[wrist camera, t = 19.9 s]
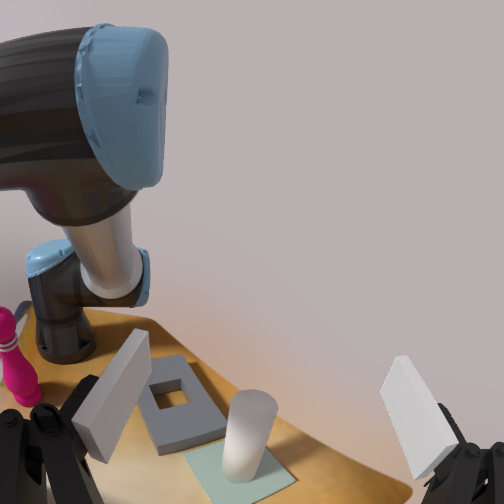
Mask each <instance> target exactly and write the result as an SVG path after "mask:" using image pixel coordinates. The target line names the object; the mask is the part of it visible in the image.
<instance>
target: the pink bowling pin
mask: <svg viewBox="0 0 504 504" xmlns="http://www.w3.org/2000/svg"><path fill="white" fill-rule="evenodd" d="M15 330H16V321H15V318H14V316H13V314H12V313H11V311H10V310H9V309H7V308H5V307H1V306H0V355H1V358H2V363H3V378H4V382H5V384H6V386H7V388H8V389H9V390H10V391H11V392H12V393H13V395H14V397H15V399H16V401H17V402H18V403H19V404H20V405H22V406H25V407H31V406H34V405H36V404H37V403H38V402H39V401H40V400H41V397H42V391H41V389H40V387H39V384H38V377H37V374H36V372H35V370H34V368H33V367H32V365H31V364H30V363H29V362H28V361H27V360H26V358H25V357H24V356H23V355H22V353H21V352H20V349H19V347H18V342H19V340H18V337H17V333H16V332H15Z"/></svg>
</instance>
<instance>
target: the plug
mask: <svg viewBox="0 0 504 504" xmlns="http://www.w3.org/2000/svg"><path fill="white" fill-rule="evenodd" d="M277 411H278V405H277V403H276V401H275V399H274V398H273V397H272V396H270V395H269V394H267V393H265V392H263V391H259V390H243V391H240V392H238V393H236V394H235V395H234V396H233V397H232V399H231V402H230V409H229V416H228V423H227V430H226V437H225V444H224V451H223V458H222V464H221V473H222V475H223V477H224V478H225V479H226V480H228V481H229V482H232V483H235V484H244V483H247V482H249V481H251V480H252V479H253V478H254V476H255V474H256V471H257V469H258V466H259V463H260V461H261V458H262V455H263V452H264V449H265V447H266V444H267V441H268V438H269V435H270V432H271V429H272V426H273V423H274V420H275V417H276V414H277Z"/></svg>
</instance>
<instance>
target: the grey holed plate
mask: <svg viewBox="0 0 504 504" xmlns="http://www.w3.org/2000/svg"><path fill="white" fill-rule="evenodd" d="M151 365H152V372H151V374H150V376H149V378H148V380H147V382H146V384H145V386H144V388H143V390H142V392H141V394H140V396H139V398H138V400H137V405H138V408H139V410H140V413H141V416H142V418H143V420H144V423H145V425H146V428H147V430H148V432H149V435H150V437H151V439H152V442H153V444H154V446H155V448H156V450H157V452H158V455H159V456H161V455H165V454H169V453H173V452H177V451H180V450H184V449H188V448H191V447H194V446H198V445H201V444H204V443H207V442H211V441H214V440H217V439H220V438H222V437H225V436H226V430H227V423H228V421H227V420H226V418H225V417H224V416H223V414H222V413H221V412H220V410H219V409H218V407H217V406H216V405H215V403H214V402H213V400H212V399H211V397H210V396H209V394H208V393H207V392H206V390H205V389H204V387H203V386H202V384H201V383H200V381H199V380H198V378H197V376H196V375H195V373H194V372H193V370H192V369H191V367H190V366H189V364H188V362H187V361H186V359H185V358H184V356H183V354H177V355H172V356H167V357H161V358H156V359H151ZM177 390H182V391H183V393H184V395H185V397H186V398H187V400H188V402H189V403H186V404H182V405H178V406H174V407H170V408H166V409H161V410H159V408H158V406H157V403H156V401H155V399H154V397H153V395H158V394H163V393H168V392H172V391H177Z"/></svg>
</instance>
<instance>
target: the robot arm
mask: <svg viewBox="0 0 504 504" xmlns="http://www.w3.org/2000/svg"><path fill="white" fill-rule="evenodd" d="M167 85H168V46H167V43H166V40H165V39H164V37H163V36H162V35H161V34H160V33H158V32H157V31H155V30H152V29H149V28H139V27H138V28H137V27H119V26H114V25H111V24H97V25H95V26H93V27H83V28H73V29H65V30H58V31H51V32H45V33H40V34H35V35H30V36H26V37H21V38H18V39H13V40H10V41H5V42H3V43H0V191H7V190H23V191H25V192H26V194H27V196H28V198H29V200H30V201H31V203H32V205H33V207H34V208H35V209H36V211H37V212H38V213H39V214H40V216H42V218H44V219H45V220H47V221H49V222H50V223H52V224H54V225H57V226H60V227H62V229H63V231H64V233H65V234H66V236H67V238H68V239H58V240H53V241H49V242H46V243H43V244H41V245H38V246H37V247H35V248H33V249H32V250H31V251H30V252H29V253H28V255H27V257H26V267H27V277H28V283H29V288H30V293H31V298H32V302H33V307H34V311H35V315H36V345H37V348H38V351H39V353H40V355H41V356H42V357H43V358H44V359H46V360H47V361H50V362H52V363H57V364H70V363H74V362H78V361H80V360H82V359H84V358H86V357H87V356H89V355H90V354H91V353H92V351H93V350H94V348H95V346H96V337H95V332H94V329H93V328H92V326H91V324H90V322H89V320H88V318H87V317H86V315H85V313H84V310H83V307H130V308H134V307H139V306H143V305H145V304H146V303H147V301H148V297H149V288H150V260H149V255H148V252H147V251H146V250H145V249H140V248H136V247H135V246H134V244H133V243H132V232H131V215H130V214H131V213H130V203H131V202H132V200H133V199H134V198H135V196H136V195H137V194H138V192H139V190H141V189H143V188H145V187H153V186H155V185H156V184H157V183H158V182H159V181H160V179H161V176H162V172H163V159H164V143H165V119H166V102H167ZM151 372H152V365H151V356H150V345H149V332H148V331H145V330H140V329H136V328H135V329H134V330H133V332H132V333H131V334H130V336H129V337H128V338H127V340H126V341H125V343H124V344H123V345H122V347H121V348H120V349H119V351H118V352H117V354H116V355H115V356H114V358H113V359H112V361H111V362H110V364H109V365H108V366H107V368H106V369H105V371H104V372H103V374H102V375H101V376H100V377H97V376H94V375H91V374H90V375H88V376H87V377H85V378H83V379H82V380H81V381H80V382H79V384H78V385H77V386H76V389H74V390H73V392H72V394H71V395H70V396H69V397H68V399H67V400H66V401H65V403H64V404H63V406H62V407H61V408H60V410H58V409H57V408H56V407H55V406H54V405H51V404H46V403H43V404H39V405H37V406H36V407H34V408H33V409H32V411H31V413H30V419H31V420H28V419H24V418H23V416H22V415H21V413H20V412H19V411H17V410H15V409H7V410H4V411H3V412H2V413H1V414H0V504H47V488H46V472H47V475H48V479H49V482H50V486H51V489H52V492H53V496H54V499H55V502H56V504H104V502H103V500H102V498H101V496H100V494H99V491H98V489H97V487H96V484H95V482H94V480H93V477H92V475H91V472H90V470H89V467H88V464H87V462H86V459H85V458H84V457H85V456H86V454H87V452H88V453H89V454H90V456H91V458H93V459H96V460H98V461H100V462H103V463H106V464H108V462H109V459H110V457H111V455H112V453H113V451H114V449H115V446H116V444H117V442H118V440H119V438H120V436H121V434H122V432H123V429H124V427H125V425H126V423H127V421H128V419H129V417H130V415H131V413H132V411H133V409H134V407H135V405H136V403H137V400H138V398H139V396H140V394H141V392H142V390H143V388H144V386H145V384H146V382H147V380H148V378H149V376H150V374H151ZM379 393H380V395H381V398H382V400H383V402H384V405H385V407H386V409H387V412H388V414H389V417H390V419H391V422H392V424H393V426H394V429H395V431H396V434H397V436H398V439H399V441H400V444H401V446H402V449H403V452H404V454H405V457H406V460H407V462H408V465H409V468H410V470H411V473H412V475H413V479H414V480H417V479H420V478H424V477H426V476H428V475H429V474H430V473H431V472H432V471H433V470H434V472H435V475H434V476H433V477H432V478H431V479H430V480H429V481H428V482H426V483H425V485H424V487H426V486H427V485H428V484H429V483H430V484H429V487H428V489H427V492H426V494H425V496H424V499H423V501H422V503H421V504H504V443H503V442H496V443H495V444H494V445H493V446H492V447H491V448H490V449H480V448H479V447H478V446H477V445H476V444H474V443H467V442H466V440H465V438H464V437H463V435H462V433H461V431H460V430H459V428H458V426H457V424H456V423H455V421H454V419H453V418H452V417H451V414H450V413H449V411H448V410H447V408H445V406H443V405H442V404H441V403H436V401H435V399H434V398H433V396H432V395H431V393H430V391H429V389H428V388H427V386H426V385H425V383H424V381H423V380H422V378H421V377H420V375H419V373H418V372H417V370H416V369H415V367H414V366H413V364H412V363H411V361H410V359H409V358H408V356H396V358H395V360H394V362H393V365H392V367H391V369H390V371H389V373H388V375H387V377H386V380H385V381H384V383H383V386H382V388H381V389H380V391H379ZM487 478H488V483H487V484H486V485H485V480H486V479H487Z"/></svg>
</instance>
